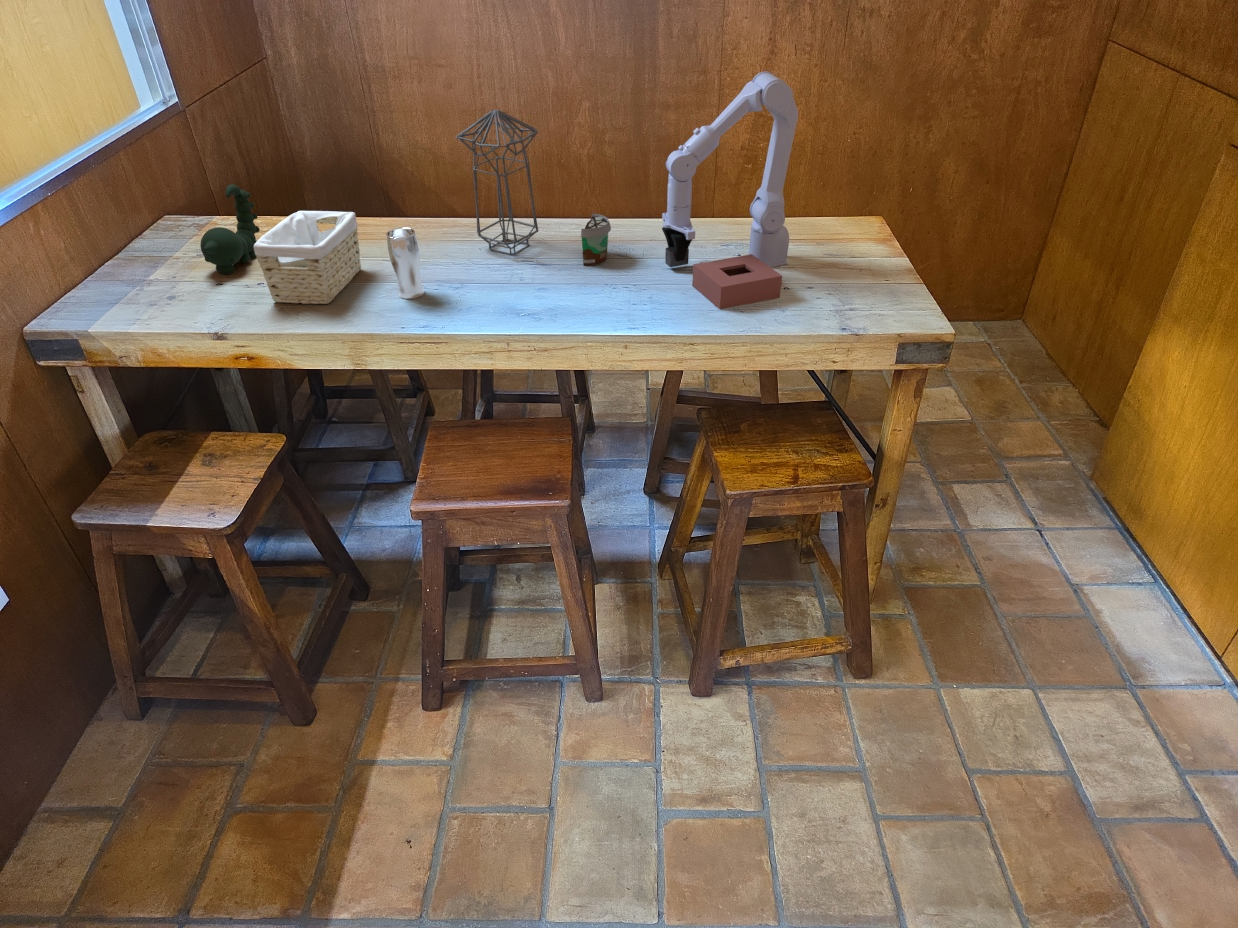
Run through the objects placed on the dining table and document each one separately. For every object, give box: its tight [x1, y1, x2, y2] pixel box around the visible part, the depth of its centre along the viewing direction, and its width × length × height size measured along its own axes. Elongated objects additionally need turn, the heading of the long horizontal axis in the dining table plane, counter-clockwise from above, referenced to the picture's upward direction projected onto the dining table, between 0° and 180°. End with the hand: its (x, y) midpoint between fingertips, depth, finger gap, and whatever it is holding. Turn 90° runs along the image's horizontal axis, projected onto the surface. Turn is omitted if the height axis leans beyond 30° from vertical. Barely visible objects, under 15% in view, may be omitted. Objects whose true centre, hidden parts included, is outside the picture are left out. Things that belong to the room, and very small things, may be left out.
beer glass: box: [385, 227, 425, 300], centre depth 183 cm, size 7×7×15 cm
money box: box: [691, 254, 783, 310], centre depth 186 cm, size 16×14×6 cm
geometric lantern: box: [455, 109, 539, 256], centre depth 200 cm, size 16×16×35 cm
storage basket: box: [253, 210, 362, 305], centre depth 187 cm, size 24×16×15 cm
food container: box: [580, 212, 612, 267], centre depth 201 cm, size 12×6×10 cm, turn 168°
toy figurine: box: [199, 183, 260, 275], centre depth 197 cm, size 9×19×25 cm
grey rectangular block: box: [664, 246, 690, 268], centre depth 197 cm, size 5×3×4 cm, turn 112°
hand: (677, 257), depth 197 cm, fingers closed on grey rectangular block, 3 cm apart
